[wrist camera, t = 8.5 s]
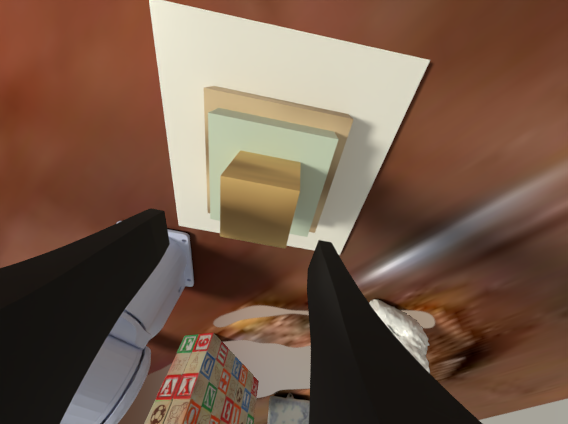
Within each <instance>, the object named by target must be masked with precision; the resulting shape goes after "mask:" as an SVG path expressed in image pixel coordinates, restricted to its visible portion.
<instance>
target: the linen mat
mask: <svg viewBox="0 0 568 424" xmlns="http://www.w3.org/2000/svg"><path fill="white" fill-rule="evenodd" d="M149 4H150V11H151V19H152V26H153V34H154V42H155V49H156V57H157V64H158V72H159V79H160V87H161V95H162V102H163V110H164V117H165V125H166V133H167V140H168V148H169V155H170V163H171V170H172V178H173V186H174V193H175V201H176V208H177V216H178V223H179V226H184V227H190V228H195V229H201V230H206V231H211V232H217V233H220V221H218V220H213V219H210V213H208V210H207V179H206V148H205V117H204V88H205V87H210V86H218V87H222V88H227V89H232V90H237V91H241V92H246V93H251V94H256V95H260V96H265V97H270V98H275V99H279V100H284V101H289V102H294V103H298V104H303V105H308V106H313V107H317V108H322V109H327V110H332V111H336V112H341V113H346V114H349V115H350V116H351V117H352V118H353V119H354V120H353V123H352V126H351V129H350V132H349V134H348V137H347V140H346V143H345V146H344V149H343V152H342V155H341V158H340V161H339V164H338V167H337V170H336V173H335V176H334V178H333V181H332V184H331V187H330V190H329V193H328V196H327V199H326V202H325V205H324V208H323V211H322V214H321V217H320V220H319V222H318V225H317V228H316V231H315V233H312V232H309V233H308V237H304V236H299V235H293V234H289V237H288V241H287V246H293V247H298V248H304V249H309V250H315V248H316V246H317V243H318V240H322V241H327V242H331V243H332V244H333V246H334V248H335V249H336V251H337V253H338V255H340V253H341V251H342V249H343V247H344V245H345V243H346V241H347V238H348V236H349V234H350V232H351V230H352V228H353V225H354V223H355V221H356V219H357V217H358V215H359V213H360V210H361V208H362V206H363V204H364V202H365V200H366V197H367V195H368V193H369V191H370V189H371V187H372V185H373V182H374V180H375V178H376V176H377V174H378V172H379V169H380V167H381V165H382V163H383V161H384V159H385V156H386V154H387V152H388V150H389V148H390V146H391V144H392V141H393V139H394V137H395V135H396V133H397V131H398V128H399V126H400V124H401V122H402V120H403V118H404V116H405V113H406V111H407V109H408V107H409V105H410V103H411V100H412V98H413V96H414V94H415V92H416V90H417V88H418V85H419V83H420V81H421V79H422V77H423V75H424V72H425V70H426V68H427V66H428V64H429V62H430V60H427V59H422V58H418V57H413V56H409V55H404V54H400V53H396V52H391V51H387V50H382V49H378V48H373V47H369V46H364V45H360V44H355V43H351V42H346V41H342V40H337V39H333V38H329V37H324V36H320V35H315V34H311V33H306V32H302V31H297V30H293V29H288V28H284V27H279V26H275V25H271V24H266V23H262V22H257V21H253V20H248V19H244V18H239V17H235V16H230V15H226V14H221V13H217V12H213V11H208V10H204V9H199V8H195V7H190V6H186V5H181V4H177V3H172V2H168V1H163V0H149Z"/></svg>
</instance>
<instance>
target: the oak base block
mask: <svg viewBox="0 0 568 424" xmlns="http://www.w3.org/2000/svg"><path fill="white" fill-rule="evenodd" d="M217 108H223V109H228V110H232V111H237V112H242V113H247V114H252V115H257V116H261V117H266V118H271V119H276V120H281V121H286V122H290V123H295V124H300V125H305V126H310V127H315V128H319V129H324V130H329V131H334V132H335V134H336V136H337V138H338V143H337V146H336V149H335V152H334V155H333V158H332V161H331V164H330V168H329V171H328V174H327V177H326V180H325V183H324V186H323V190H322V193H321V196H320V199H319V202H318V205H317V208H316V211H315V215H314V218H313V221H312V224H311V227H310V230H309V232H312V233H315V231H316V228H317V225H318V222H319V220H320V217H321V214H322V211H323V208H324V205H325V202H326V199H327V196H328V193H329V190H330V187H331V184H332V181H333V178H334V176H335V173H336V170H337V167H338V164H339V161H340V158H341V155H342V152H343V149H344V146H345V143H346V140H347V137H348V134H349V132H350V129H351V126H352V123H353V120H354V119H353V118H352V117H351V116H350V115H349V114H346V113H341V112H336V111H332V110H327V109H322V108H317V107H313V106H308V105H303V104H298V103H294V102H289V101H284V100H279V99H275V98H270V97H265V96H260V95H256V94H251V93H246V92H241V91H237V90H232V89H227V88H222V87H218V86H210V87H205V88H204V117H205V148H206V179H207V210H208V213H210V182H209V139H208V112H210V111H213V110H215V109H217Z"/></svg>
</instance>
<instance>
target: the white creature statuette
mask: <svg viewBox="0 0 568 424" xmlns="http://www.w3.org/2000/svg"><path fill="white" fill-rule="evenodd" d="M369 304H370V305H371V307H372V308H373V309H374V311H375V312H376V313H377V315H378V316H379V317H380V318H381V320H382V321H383V322H384V323H385V325H386V326H387V327H388V328H389V330H390V331H391V332H392V333H393V334H394V335H395V337H396V338H397V339H398V340H399V341H400V342H401V343H402V345H403V346H404V347H405V348H406V349H407V350H408V351H409V352H410V353H411V355H412V356H413V357H414V358H415V359H416V360H417V361H418V362H419V363H420V364H421V365H422V366H423V367H424V368H425V369H426V370H427V371H428V372H429V373H430V369H429V361H428V360H427V358H426V353H427V352H426V351H427V346H428V345H429V343H428V337H427V336H426V334H425V332H424V331H423V327H421V326H420V324H419V323H418V322H417V320H415V319H413V318H412V317H411V316H410V315H407V313H404V312H402V311H401V310H398V309H396V308H395V307H393V306H390V305H388V304H386V303H384V302H383V301H381V300H378V299H377V300H376V299H374V300H373V301H370V303H369Z"/></svg>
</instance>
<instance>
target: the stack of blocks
mask: <svg viewBox="0 0 568 424" xmlns="http://www.w3.org/2000/svg"><path fill="white" fill-rule="evenodd" d="M257 390H258V380H257V379H256V378H255V377H254V376H253V374H252V373H251V372H250V371H249V370H248V369H247V368H246V367H245V366H244V365H243V364H242V363H241V362H240V361H239V360H238V359H237V357H235V355H234V354H233V353H232V352H231V351H230V350H229V349H228V347H227V346H226V345H225V344H224V343H223V342H222V341H221V340H220V339H219V338H218V337H217V336H216V335H215V334H214V333H207V334H199V335H189V336H184V338H183V340H182V342H181V345H180V347H179V349H178V351H177V355H176V356H175V358H174V361H173V363H172V365H171V367H170V369H169V372H168V374H167V376H166V377H165V379H164V382H163V383H162V386H161V388H160V390H159V393H158V395H157V397H156V399H155V402H154V404H153V406H152V408H151V410H150V413H149V415H148V417H147V419H146V421H145V423H144V424H253V423H254V412H255V405H256V396H257Z"/></svg>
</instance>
